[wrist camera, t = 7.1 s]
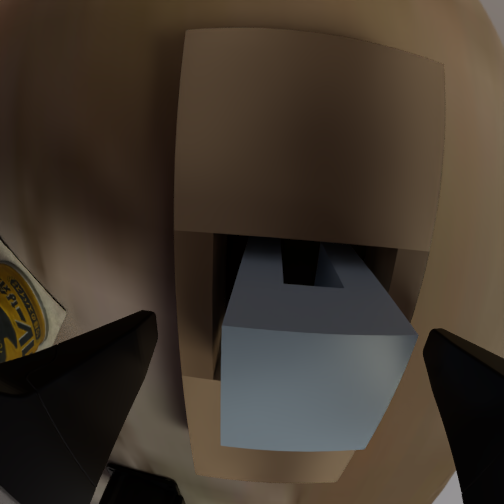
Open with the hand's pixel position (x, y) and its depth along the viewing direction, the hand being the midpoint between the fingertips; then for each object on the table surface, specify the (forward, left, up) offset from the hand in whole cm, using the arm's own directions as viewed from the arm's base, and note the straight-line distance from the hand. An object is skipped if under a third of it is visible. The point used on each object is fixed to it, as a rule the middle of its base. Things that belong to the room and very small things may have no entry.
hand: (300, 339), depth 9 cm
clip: (0, 0, -4) cm, 4 cm away
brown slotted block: (0, -1, -4) cm, 4 cm away
